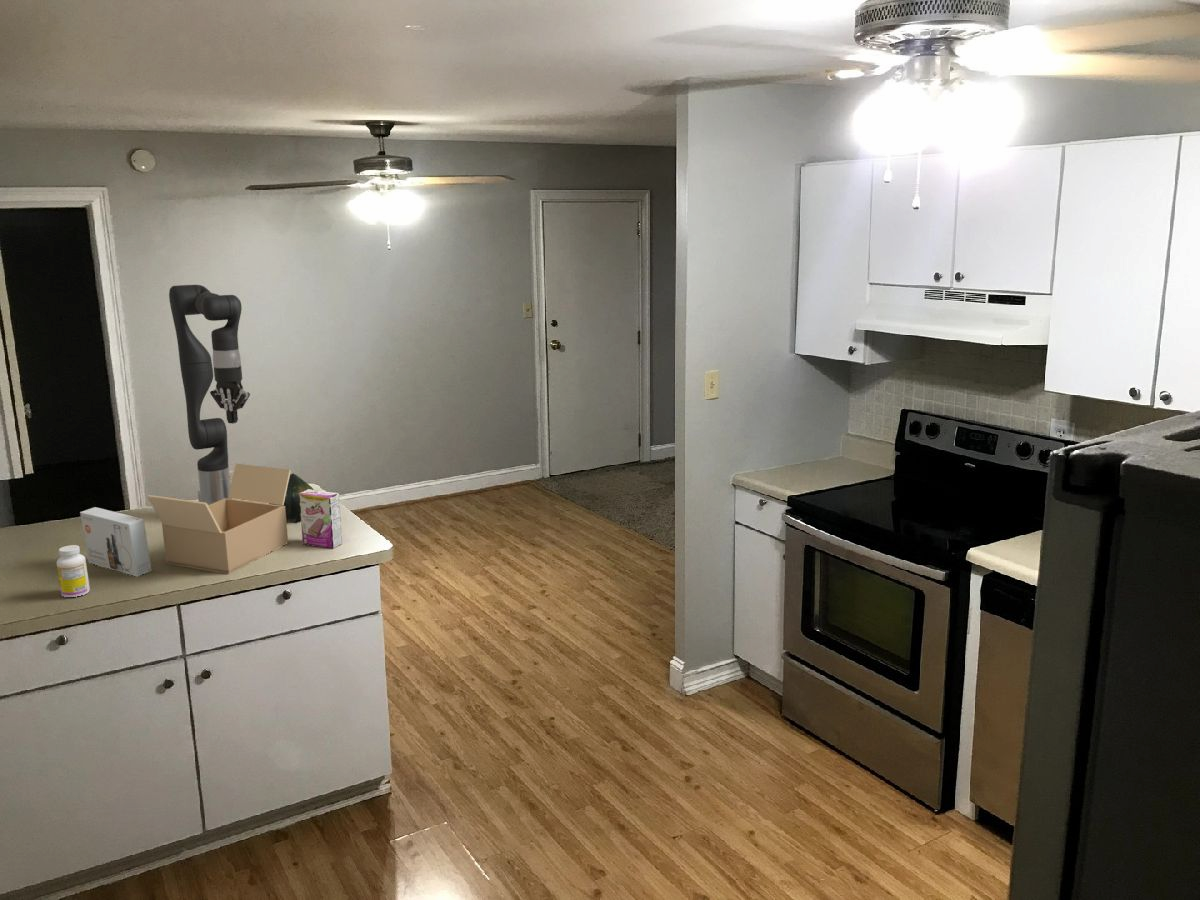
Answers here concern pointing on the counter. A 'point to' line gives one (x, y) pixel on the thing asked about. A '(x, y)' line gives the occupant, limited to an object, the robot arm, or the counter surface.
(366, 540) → the counter surface
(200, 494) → the robot arm
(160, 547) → the counter surface
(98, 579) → the counter surface
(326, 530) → the candy bar box
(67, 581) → the supplement bottle
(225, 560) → the carton
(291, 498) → the squash
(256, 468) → the back flap
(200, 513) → the front flap
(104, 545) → the skincare box
